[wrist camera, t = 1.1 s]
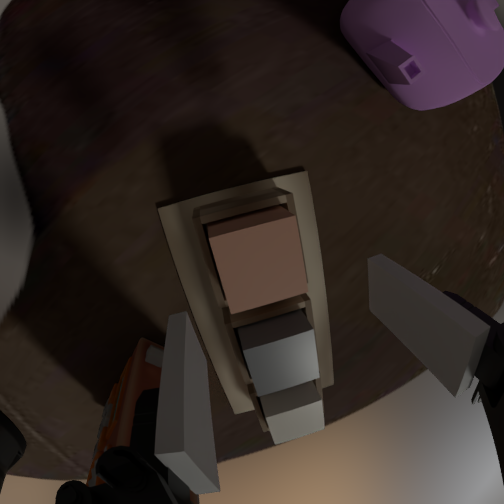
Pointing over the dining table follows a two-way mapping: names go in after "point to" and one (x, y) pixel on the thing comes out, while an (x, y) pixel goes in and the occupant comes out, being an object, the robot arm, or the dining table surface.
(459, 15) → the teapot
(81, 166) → the dining table surface
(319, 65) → the dining table surface
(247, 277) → the terracotta key
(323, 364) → the keypad board
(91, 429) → the dining table surface
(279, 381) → the graphite key
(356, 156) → the dining table surface
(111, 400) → the terracotta and grey box
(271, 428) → the ivory key
